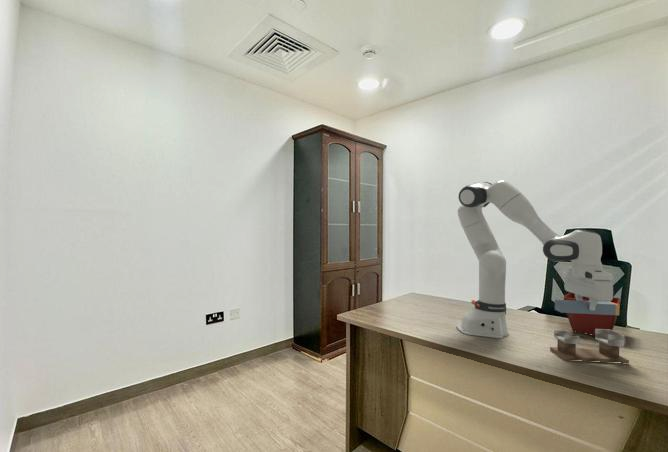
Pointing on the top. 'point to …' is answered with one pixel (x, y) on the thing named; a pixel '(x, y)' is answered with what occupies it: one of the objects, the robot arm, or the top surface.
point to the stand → (606, 352)
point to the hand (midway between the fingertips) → (585, 308)
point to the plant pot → (590, 318)
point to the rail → (581, 307)
